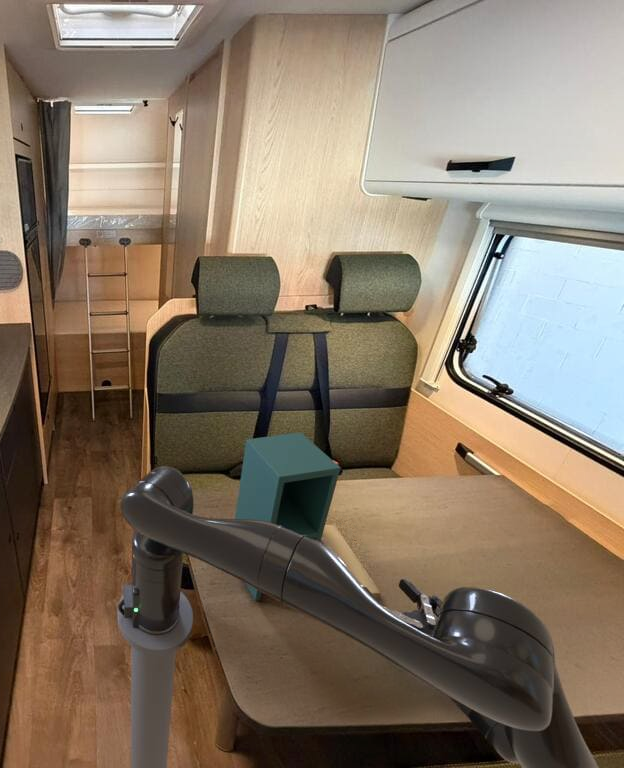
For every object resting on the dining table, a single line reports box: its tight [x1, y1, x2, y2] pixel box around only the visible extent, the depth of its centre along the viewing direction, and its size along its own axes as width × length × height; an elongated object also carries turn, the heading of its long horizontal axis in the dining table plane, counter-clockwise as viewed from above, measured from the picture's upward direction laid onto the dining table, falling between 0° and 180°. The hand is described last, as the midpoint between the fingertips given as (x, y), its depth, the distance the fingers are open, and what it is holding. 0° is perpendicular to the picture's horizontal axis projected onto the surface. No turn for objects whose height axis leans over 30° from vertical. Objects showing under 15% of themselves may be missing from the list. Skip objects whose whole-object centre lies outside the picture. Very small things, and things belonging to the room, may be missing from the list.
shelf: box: [234, 432, 341, 602], centre depth 86 cm, size 12×12×32 cm
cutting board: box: [322, 524, 381, 600], centre depth 94 cm, size 11×19×2 cm, turn 1°
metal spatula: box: [320, 537, 363, 587], centre depth 94 cm, size 21×4×2 cm, turn 10°
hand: (381, 585), depth 80 cm, fingers open, 8 cm apart
